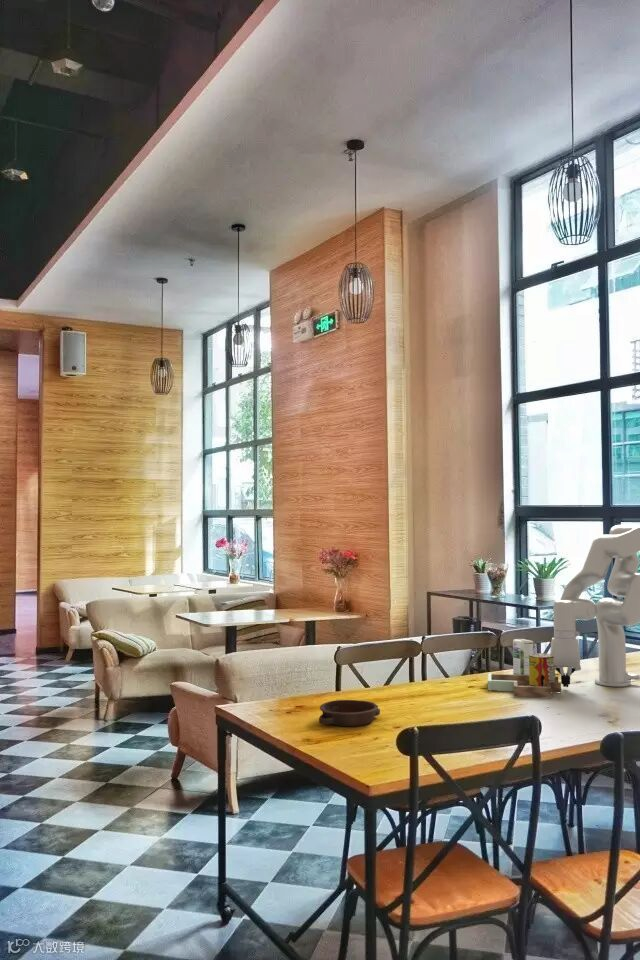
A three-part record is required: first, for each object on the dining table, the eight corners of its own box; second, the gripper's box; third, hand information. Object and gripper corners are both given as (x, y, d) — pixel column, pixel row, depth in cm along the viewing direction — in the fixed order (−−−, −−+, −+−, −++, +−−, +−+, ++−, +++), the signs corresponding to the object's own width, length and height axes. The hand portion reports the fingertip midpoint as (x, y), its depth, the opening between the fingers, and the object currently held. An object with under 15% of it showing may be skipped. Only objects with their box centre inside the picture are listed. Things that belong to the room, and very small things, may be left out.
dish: (303, 721, 243) (302, 705, 243) (359, 711, 256) (359, 695, 256) (337, 734, 229) (337, 716, 229) (395, 722, 242) (395, 705, 242)
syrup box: (512, 676, 310) (511, 639, 311) (524, 675, 312) (524, 638, 313) (522, 679, 305) (521, 641, 306) (534, 678, 307) (533, 640, 308)
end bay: (516, 683, 297) (516, 674, 297) (517, 691, 283) (517, 681, 283) (488, 682, 299) (488, 673, 299) (487, 690, 285) (487, 680, 285)
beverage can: (529, 690, 285) (528, 656, 285) (530, 685, 293) (529, 652, 294) (555, 692, 282) (554, 657, 283) (555, 687, 291) (554, 653, 291)
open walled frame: (558, 685, 293) (558, 676, 293) (563, 698, 272) (562, 688, 272) (491, 683, 298) (491, 673, 298) (491, 695, 277) (491, 685, 277)
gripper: (585, 634, 289) (586, 685, 288) (542, 632, 292) (543, 683, 291) (587, 636, 282) (588, 689, 281) (544, 635, 285) (544, 687, 284)
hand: (565, 686), depth 286 cm, fingers closed
